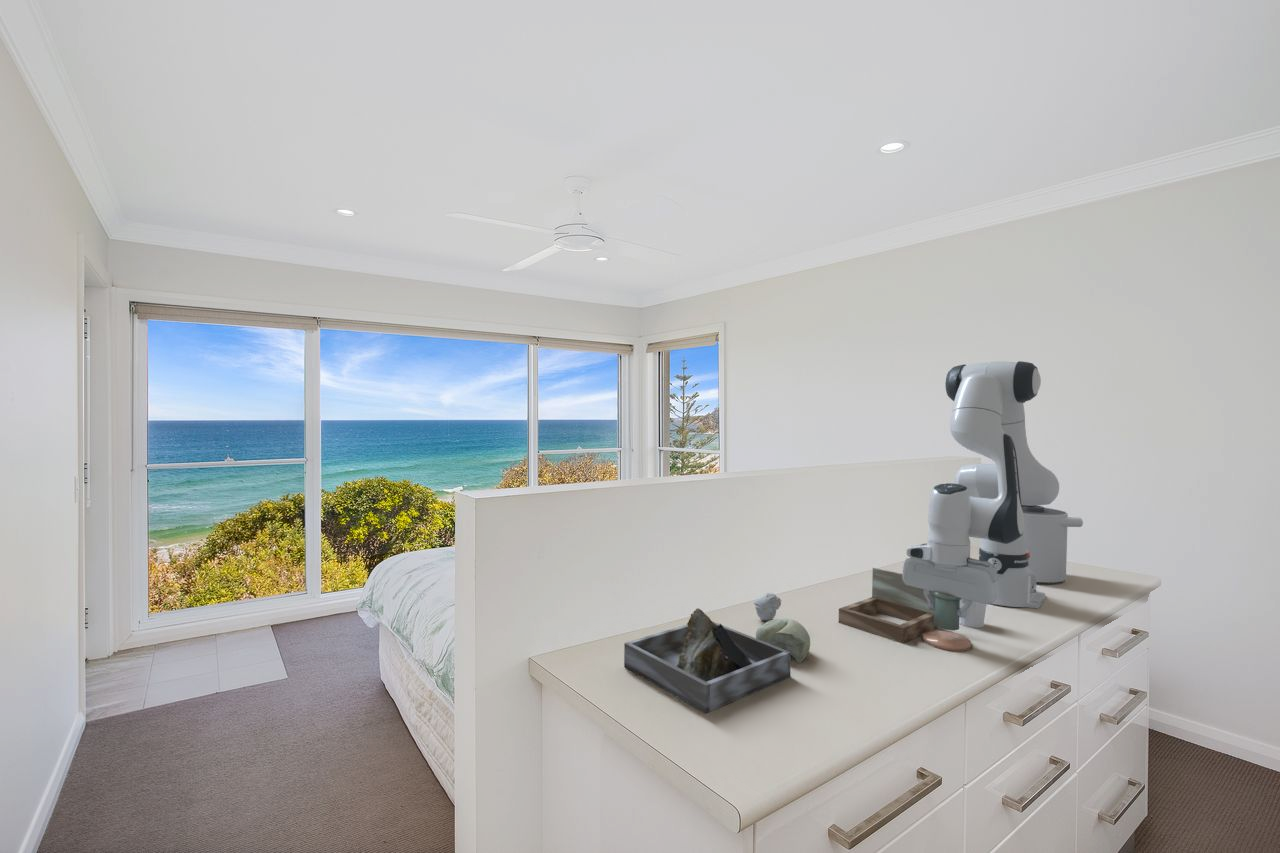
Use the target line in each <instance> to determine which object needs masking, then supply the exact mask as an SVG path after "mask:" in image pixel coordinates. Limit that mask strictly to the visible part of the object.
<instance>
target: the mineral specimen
mask: <svg viewBox="0 0 1280 853" xmlns="http://www.w3.org/2000/svg"><path fill="white" fill-rule="evenodd" d="M713 622H714V621H713ZM713 622H712V620H711V618H710V617H709V616H708V615H707V614H706V613H705V612H704V610H702V609H700V608H696V609H695V610H694V611H693V612H692V613H691V614H690V618H689V619H688V622H687V624H688V627H689V628H688V632H689V633H688V634H687V637H686V639H685V644H684V646H683V652H682V653H681V656H679V662H678V664H677V667H678V668H680V669H682V670H684V671H686V672H688V673H690V674H692V675H694V676H696V677H697V678H699V679H701V680H703V681H705V682H707V681H710V680H712V679H715V678H718V677H720V676H723V675H725V674H728V673H731V672H733V671H736V670H738V669H741V668H743V667H746V666H749V665H751V664H753V663H751V662H750V661H749V659H748V657H747V656H746V655H745V654H744V653H743V651H741V650H740V649H739V648H738V647H737V646H736V645H735V644H734V642H733V641H732V639H731V638H730V636H728V633H727V632H726V630H725V629H724V627H723V626H724V625H723V624H722V623H719V624H720V625H719V626H717V625H716V624H715V623H713ZM687 624H686V625H687ZM722 625H723V626H722Z"/></svg>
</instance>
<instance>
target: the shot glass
mask: <svg viewBox="0 0 1280 853" xmlns="http://www.w3.org/2000/svg"><path fill="white" fill-rule="evenodd" d="M964 605H965V604H964V603H962V599H961V600H960V608H962V607H963V606H964ZM986 609H987V604H983V603H979V602H975V601H973V603H972V604H971V606H970V607H969V608H968V609H967V616H966V618H961V617H959V625H962V626H964V627H969V628H976V629H977V628H979V629H980V628H983V627H984V625H985V617H986Z"/></svg>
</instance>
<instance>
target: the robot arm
mask: <svg viewBox="0 0 1280 853" xmlns="http://www.w3.org/2000/svg"><path fill="white" fill-rule="evenodd" d="M1041 381H1042V379H1041V375H1040V372H1039V370H1038V367H1037V366H1036V365H1035V364H1034V363H1032V362H1029V361H1023V360H1022V361H1021V360H1020V361H1017V362H1014V361H990V362H980V363H974V364H973V363H971V364H959V365H956V366H953V367H952V368H951V369H949V371H948V372H947V374H946V377H945V381H944V387H945V392H946V395H947V397H948V398H950V400H951V401H953V405H952V409H951V414H950V415H951V416H950V426H949V427H950V433H951V436H952V437H953V438H954V440H955V441H956V443H958V444H959V445H961V446H962V448H963V447H964V448H966V449H967V450H969V451H972V452H973V453H976V454H978V455H981V456H984V457H986V458H988V459H990V460H991V461H993V462H994V463H995V464H993V463H992V464H991V463H973V464H972V463H971V464H967V465H966V464H965V465H962V466H961V467H960V468H959V469H958V470H957V472H956V474H955V477H954V483H951V482H950V483H948V482H947V483H939V484H937V485H935V486H933V488H932V490H931V494H930V498H929V505H928V514H927V515H928V517H927V522H928V526H929V533H928V536H927V543H922V544H917V545H913V546H910V547H907V548H906V549H905V550H906V553H905V554H906V556H907V557H906V558H905V559H904V561H903V566H902V574H903V575H902V579H903V581H904V583H905V584H906V585H908V586H912V587H917V588H921V589H924V590H923V594H924V596H925V598H926V599H927V601H928V609H931V610H934V609H935V601H934V599H933V597H932V593H933V591H936V592H942V593H946V594H950V595H952V596H956V597H958V598H962V603H964V604H965V605H964V606H963V607H962V608H959V609H957V616H958V617H961V618H966V616H967V609H968V608H969V607H970V606H971V604H972V603H973V601H975V602H979V603H983V604H986V606H988V605H991V604H992V605H999V606H1003V607H1010V608H1011V607H1012V608H1032V609H1039V608H1040V607H1041V606H1042V604H1043V602H1044V600H1045V599H1046V593H1045V592H1043V591H1040V590H1037V584H1036V576H1035V575H1034V574H1033V573H1032V571H1031V570H1030V569H1029V568H1028V565H1029V564H1028V559H1029V557H1030V552H1026V528H1025V520H1024V514H1023V511H1022V505H1028V506H1034V505H1037V506H1047V505H1050V504H1052V503H1053V502H1054V501H1055V500H1056V499H1057V497H1058V496H1059V493H1060V482H1059V480H1058V477H1057V476H1056V475H1055V473H1054V472H1052V471H1051V470H1049V469H1048V468H1047V467H1045V466H1044V465H1042V464H1041V463H1040V462H1039V461H1038V460H1037V459H1036V457H1035V456H1034V454H1033V453H1032V451H1031V450H1030V447H1029V444H1028V439H1027V433H1026V432H1027V431H1026V417H1025V415H1026V414H1025V406H1024V405H1025V404H1024V403H1026V402H1028V401H1031V400H1033V399H1034V398H1035V397H1037V395H1038V392H1039V390H1040V387H1041ZM970 538H975V539H980V547H979V549H978V550H979V551H978V559H977V558H972V557H971V539H970Z"/></svg>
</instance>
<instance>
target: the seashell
mask: <svg viewBox="0 0 1280 853" xmlns="http://www.w3.org/2000/svg"><path fill="white" fill-rule="evenodd" d="M755 638H756V639H759V640H761V641H764V642H766V643H769V644H771V645H774V646H776V647H779V648H781V649H784V650H786V651H789V652H791V657H793V658H794V659H795V660H796V662H798V663H802V662H803V660H805V658H806V656H808V653H809V651H810V647H811V638H810V635H809V633H808V631H807V630H806V628H805V627H804V625H803V624H801V623H800V622H799V621H797V620H795V619H793V618H773V619H772V620H769V621H765V623H763V624H761V625H760V626H758V627H757V628H756V631H755Z"/></svg>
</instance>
